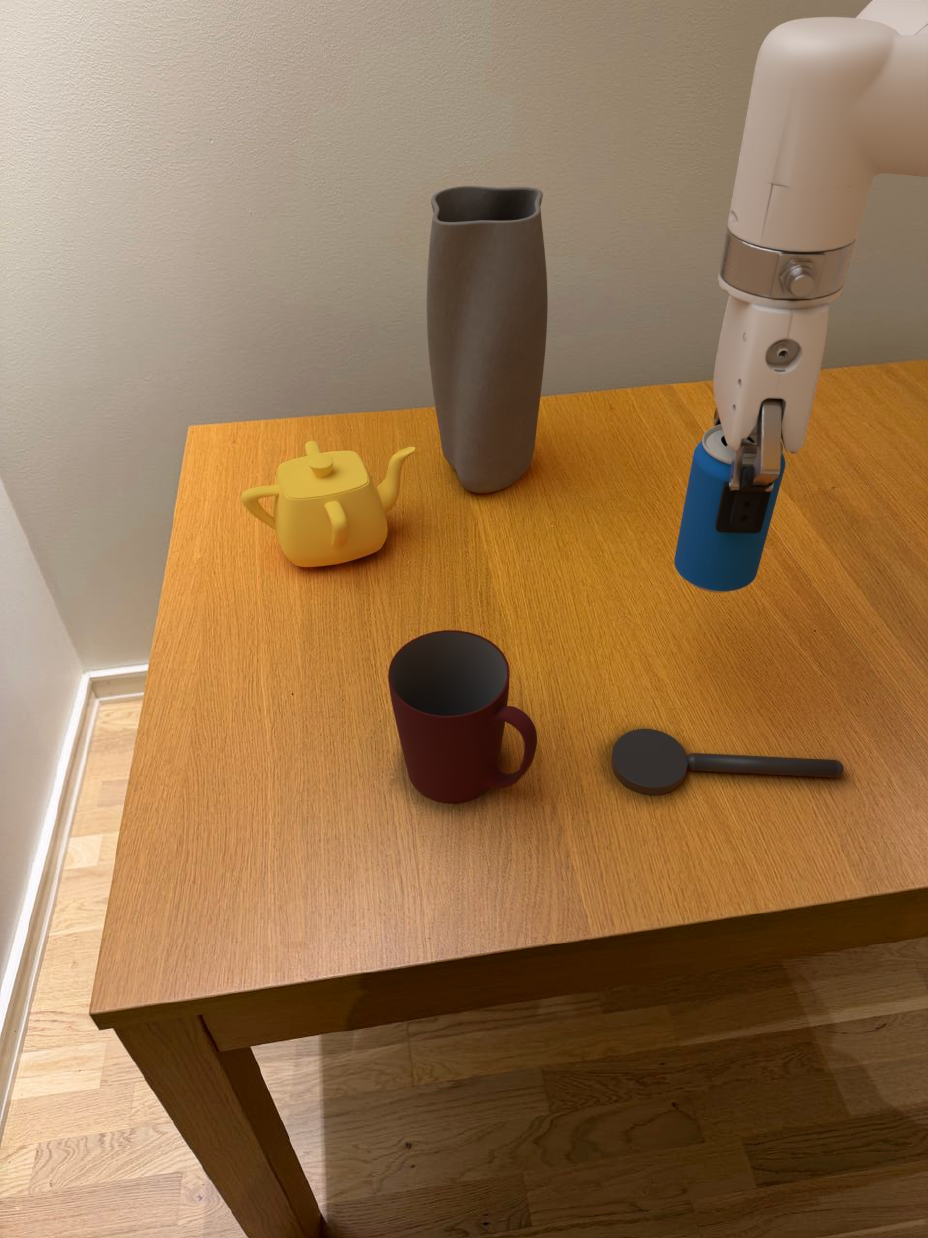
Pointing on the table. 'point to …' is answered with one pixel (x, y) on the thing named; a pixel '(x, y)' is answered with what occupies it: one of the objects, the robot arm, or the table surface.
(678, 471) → the table surface
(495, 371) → the vase
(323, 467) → the teapot
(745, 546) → the beverage can
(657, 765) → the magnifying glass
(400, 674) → the mug
